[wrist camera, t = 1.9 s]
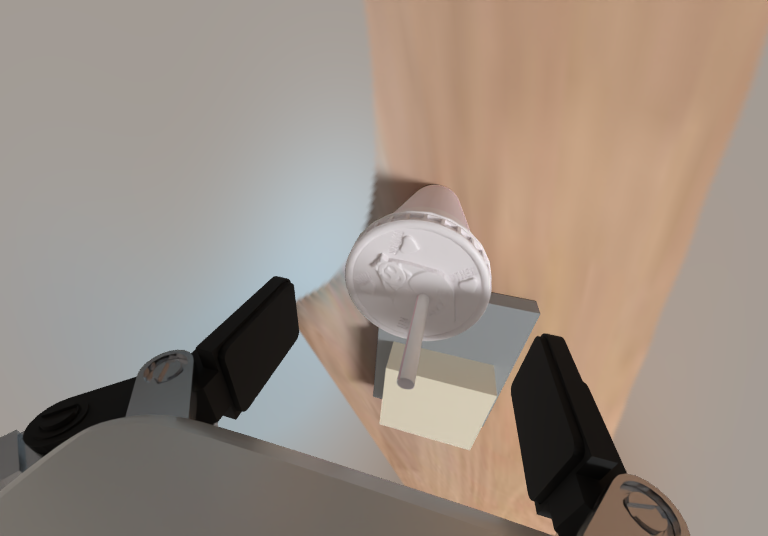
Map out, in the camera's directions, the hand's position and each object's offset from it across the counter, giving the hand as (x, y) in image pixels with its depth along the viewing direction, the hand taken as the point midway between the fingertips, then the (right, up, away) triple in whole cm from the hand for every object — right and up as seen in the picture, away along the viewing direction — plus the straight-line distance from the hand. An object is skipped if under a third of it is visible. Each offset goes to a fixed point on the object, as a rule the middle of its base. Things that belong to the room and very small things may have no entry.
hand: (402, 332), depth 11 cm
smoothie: (+3, +7, +9) cm, 12 cm away
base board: (+5, -6, +16) cm, 18 cm away
